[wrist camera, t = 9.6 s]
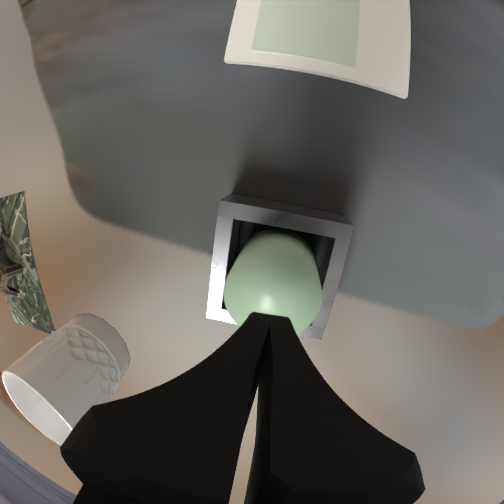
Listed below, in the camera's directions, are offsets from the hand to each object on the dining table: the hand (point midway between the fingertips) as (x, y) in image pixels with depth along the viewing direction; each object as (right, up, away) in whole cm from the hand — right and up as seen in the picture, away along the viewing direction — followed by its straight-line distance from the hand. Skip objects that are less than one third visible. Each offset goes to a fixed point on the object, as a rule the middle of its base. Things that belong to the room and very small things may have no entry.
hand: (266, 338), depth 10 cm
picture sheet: (+5, +21, +2) cm, 21 cm away
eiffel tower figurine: (-25, +2, +13) cm, 29 cm away
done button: (+1, +2, +7) cm, 7 cm away
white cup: (-14, -5, +13) cm, 20 cm away
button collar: (+1, +3, +8) cm, 9 cm away
